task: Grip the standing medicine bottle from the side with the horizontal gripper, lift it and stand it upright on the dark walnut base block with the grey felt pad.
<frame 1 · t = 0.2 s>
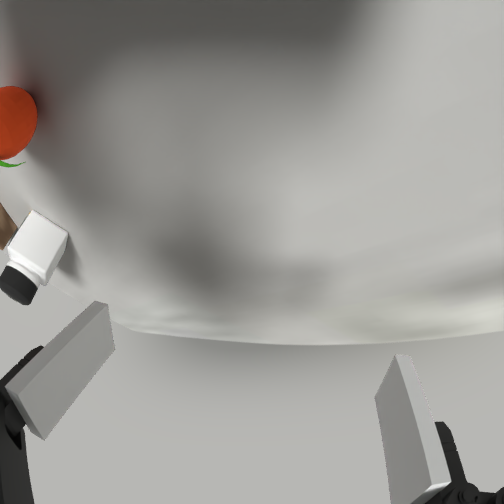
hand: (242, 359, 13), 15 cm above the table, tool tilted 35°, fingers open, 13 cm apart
medicine bottle: (50, 229, 39), on the table
clementine: (31, 104, 21), on the table
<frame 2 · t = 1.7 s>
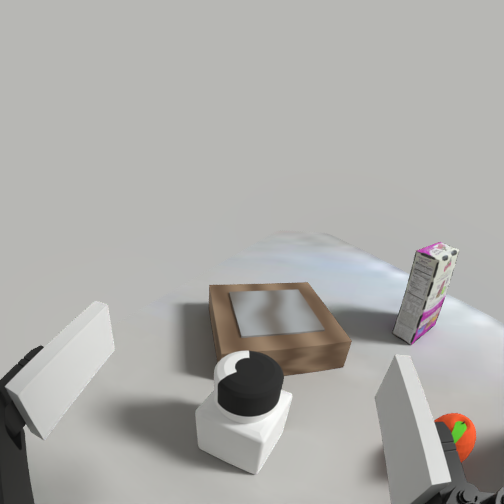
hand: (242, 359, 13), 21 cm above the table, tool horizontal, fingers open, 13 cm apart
medicine bottle: (241, 441, 29), on the table
candy bar box: (413, 330, 52), on the table
walnut base: (270, 337, 48), on the table
clementine: (432, 461, 25), on the table
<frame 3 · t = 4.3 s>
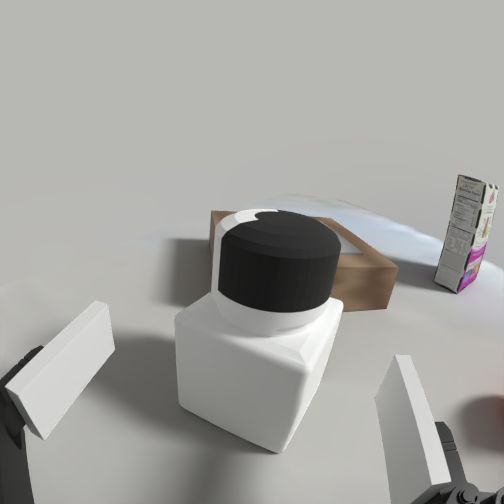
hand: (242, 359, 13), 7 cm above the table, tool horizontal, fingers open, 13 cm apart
medicine bottle: (252, 399, 19), on the table
candy bar box: (454, 281, 41), on the table
walnut base: (287, 273, 38), on the table
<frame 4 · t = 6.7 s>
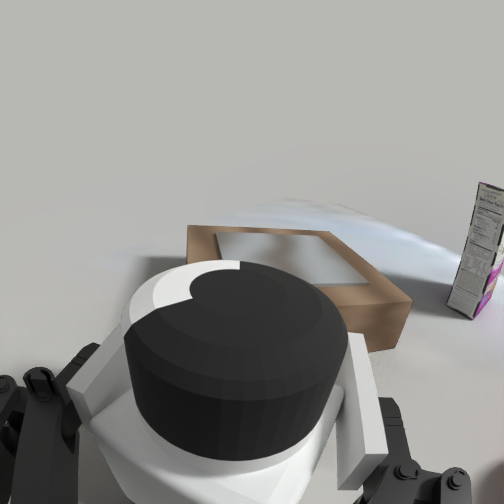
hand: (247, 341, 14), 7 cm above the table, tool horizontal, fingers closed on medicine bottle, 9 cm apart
medicine bottle: (220, 489, 12), on the table, touching gripper
candy bar box: (468, 303, 35), on the table
walnut base: (276, 302, 31), on the table
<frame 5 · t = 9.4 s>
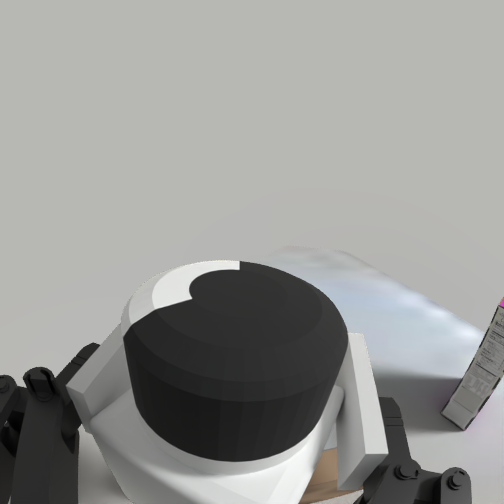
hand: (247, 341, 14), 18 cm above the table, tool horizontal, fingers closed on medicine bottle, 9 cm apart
medicine bottle: (220, 490, 12), point 11 cm above the table, touching gripper
candy bar box: (465, 403, 30), on the table
walnut base: (264, 434, 27), on the table
when the fingers open (14 cm above the table, at t = 12.4 s): medicine bottle drops 1 cm, resting on walnut base.
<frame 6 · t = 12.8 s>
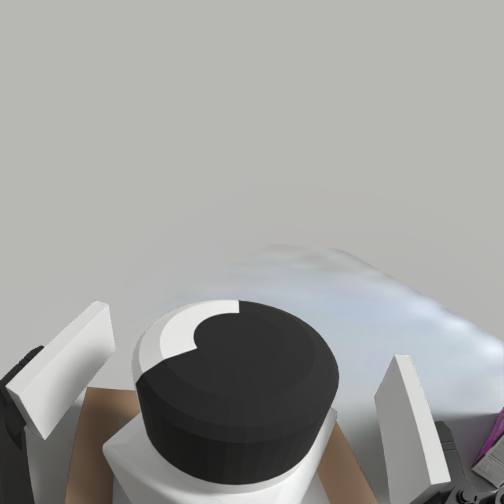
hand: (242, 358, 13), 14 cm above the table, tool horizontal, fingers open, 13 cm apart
medicine bottle: (222, 499, 13), point 5 cm above the table, touching walnut base
candy bar box: (498, 448, 18), on the table
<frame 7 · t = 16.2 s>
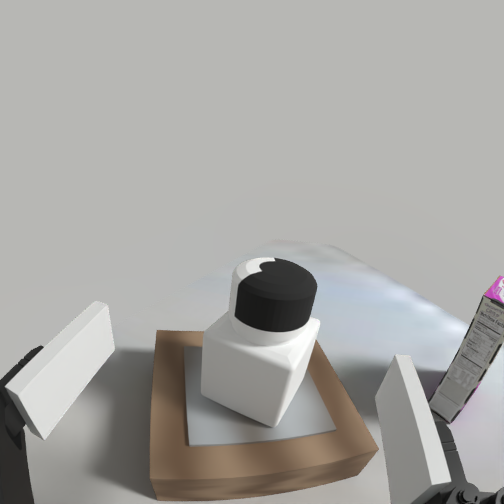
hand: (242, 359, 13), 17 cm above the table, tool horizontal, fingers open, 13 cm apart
medicine bottle: (254, 389, 26), point 5 cm above the table, touching walnut base
candy bar box: (451, 396, 31), on the table
walnut base: (246, 420, 28), on the table
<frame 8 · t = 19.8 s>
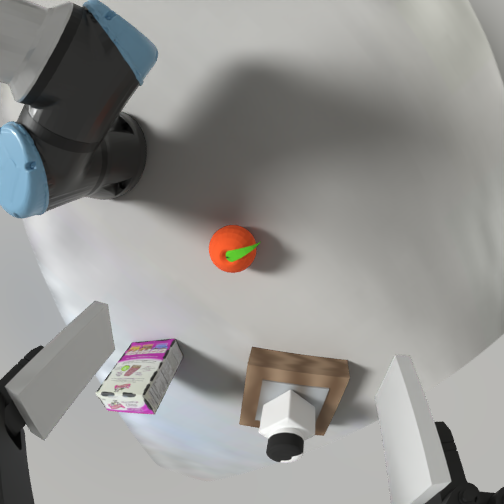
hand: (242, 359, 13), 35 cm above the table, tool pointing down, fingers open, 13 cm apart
medicine bottle: (289, 405, 52), point 5 cm above the table, touching walnut base
candy bar box: (158, 349, 59), on the table
walnut base: (291, 387, 57), on the table
clementine: (240, 239, 48), on the table
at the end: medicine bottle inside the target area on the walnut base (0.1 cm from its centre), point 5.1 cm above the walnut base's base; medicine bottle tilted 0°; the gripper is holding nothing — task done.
